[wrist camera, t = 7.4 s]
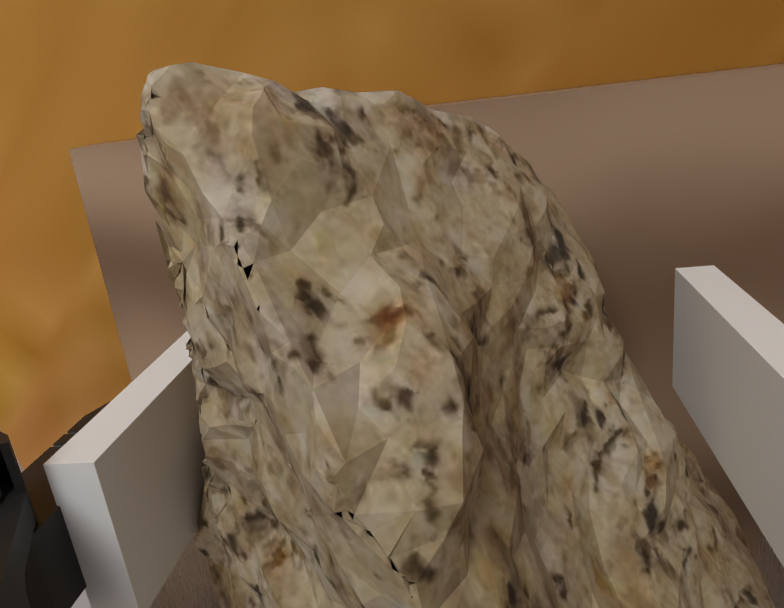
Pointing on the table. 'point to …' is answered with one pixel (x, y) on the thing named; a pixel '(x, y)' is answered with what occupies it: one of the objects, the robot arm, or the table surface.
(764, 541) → the cradle rails
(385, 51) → the table surface
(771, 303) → the cradle board
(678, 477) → the rock
